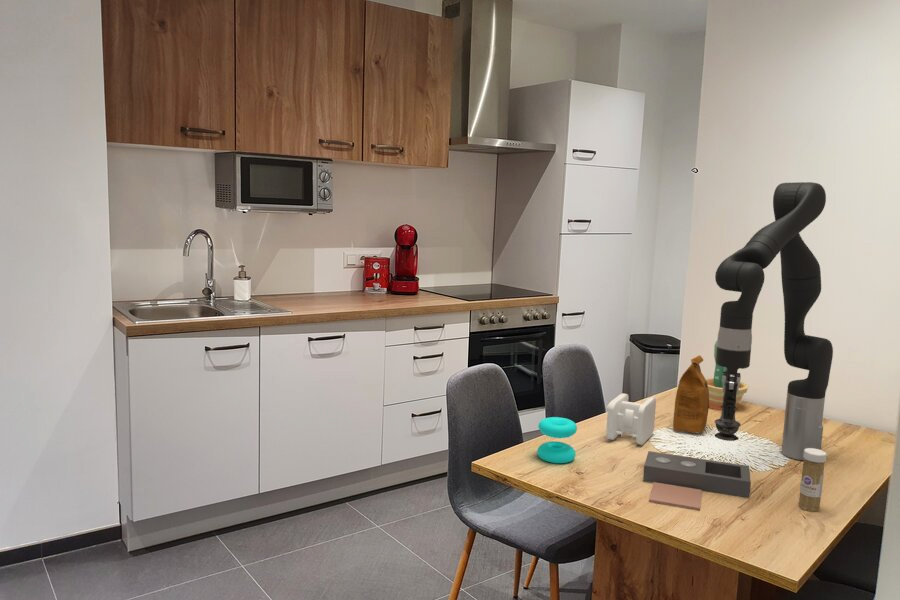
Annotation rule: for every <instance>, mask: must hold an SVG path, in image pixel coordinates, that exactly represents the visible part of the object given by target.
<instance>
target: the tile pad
mask: <svg viewBox="0 0 900 600" xmlns="http://www.w3.org/2000/svg"><path fill="white" fill-rule="evenodd" d="M701 500H702V491H701V490H700V489H693V488H687V487H681V486H675V485H669V484H663V483H656V482H653V483H652V487H651V490H650V495H649V498H648V502H649V503H652V502H654V503H653V504H659V505H666V506H672V507H675V508H676V507H678V508H683V509H688V510H689V509H690V510H695V511H699V512H700V511H701Z"/></svg>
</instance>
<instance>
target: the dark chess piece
mask: <svg viewBox="0 0 900 600" xmlns="http://www.w3.org/2000/svg"><path fill="white" fill-rule="evenodd" d="M724 396H725V394H724V395H723V401H724ZM727 398H733V396H730V395H728V396H727ZM735 405H736V403H735ZM735 405H734V416H733V419H732V420H729V419H724V418H723V414H724V402H723V405H722V406H721V408H722V410H721V414H720V417H719V418H717V419H715V420H714V424H715V428H716V430H717V431H718V432H717V433H715V434H714V437H715V438H716V439H718V440H722V441H727V442H735V441H738V440H739V437H738V436H737V435H736V433H737V432H738V431H739V429H740V427H741V422H739V421H737V420H736V410H738V408H737V405H736V407H735Z"/></svg>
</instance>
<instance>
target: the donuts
mask: <svg viewBox="0 0 900 600" xmlns="http://www.w3.org/2000/svg"><path fill="white" fill-rule="evenodd" d="M538 430H539V431H540V432H541V434H543V435H544V436H546V437H549V438H554V439H565V438H567V439H568V438H571V437H572V436H574V435H575V434H576V432H577V431H578V425H577V424H576V422H574V421H573V420H571V419H569V418H565V417H561V416H560V417H559V416H551V417H545V418H543V419H541V420H540V421H539V422H538ZM536 453H537V455H538V457H539V459H541V460H542V461H545V462H547V463H551V464H566V463H570V462H572V461H573V460H575V457H576V451H575V449H574V447H572V445H570V444H568V443H566V442H562V441H557V440H556V441H546V442H543V443H542V444H540V445H539V446H538V447H537V451H536Z"/></svg>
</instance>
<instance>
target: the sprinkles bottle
mask: <svg viewBox="0 0 900 600" xmlns="http://www.w3.org/2000/svg"><path fill="white" fill-rule="evenodd" d="M803 457H804V458H803V459H804V460H803V463H802V470H801V471H802V472H801V477H800V486H799V498H798V500H799V501H798V503H797V505H798V507H799V508H801V509H803V510H805V511H809V512H818V511H820V510H821V500H822V499H821V498H822V494H823V493H822V492H823V483H824V475H825V474H824V473H825V472H824V471H825V464H826V461H827V452H826V451H825V450H822V449H821V450H819V449H815V448H806V449H805V450H804V454H803Z"/></svg>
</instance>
